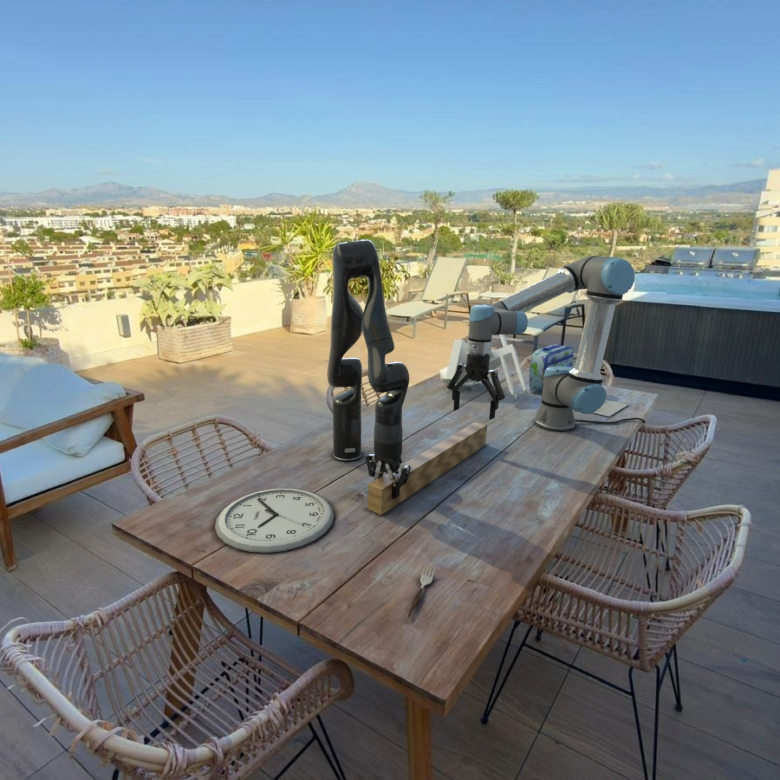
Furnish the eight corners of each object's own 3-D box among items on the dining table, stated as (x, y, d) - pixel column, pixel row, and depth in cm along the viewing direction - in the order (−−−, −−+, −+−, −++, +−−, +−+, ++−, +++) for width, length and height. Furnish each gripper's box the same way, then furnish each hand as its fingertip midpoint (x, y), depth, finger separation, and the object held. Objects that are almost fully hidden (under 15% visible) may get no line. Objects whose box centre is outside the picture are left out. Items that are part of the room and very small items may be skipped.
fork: (401, 617, 102) (401, 609, 101) (424, 570, 116) (425, 562, 116) (414, 621, 101) (414, 612, 100) (436, 572, 115) (436, 565, 115)
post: (473, 441, 187) (475, 421, 185) (485, 444, 184) (487, 424, 182) (367, 509, 141) (367, 484, 139) (381, 515, 138) (381, 489, 136)
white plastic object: (461, 429, 252) (437, 405, 227) (444, 352, 274) (420, 323, 250) (535, 404, 240) (518, 377, 215) (510, 326, 262) (492, 293, 237)
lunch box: (545, 397, 238) (550, 352, 231) (524, 391, 245) (529, 348, 239) (572, 386, 255) (578, 344, 249) (552, 381, 262) (557, 340, 256)
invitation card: (608, 416, 214) (573, 407, 224) (608, 416, 214) (573, 408, 224) (628, 404, 229) (594, 396, 238) (628, 405, 229) (594, 397, 238)
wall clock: (332, 544, 122) (200, 548, 120) (332, 550, 123) (201, 555, 120) (334, 484, 151) (228, 486, 148) (334, 489, 151) (228, 491, 149)
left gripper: (358, 434, 139) (358, 492, 144) (401, 448, 131) (400, 508, 136) (375, 426, 145) (375, 482, 150) (418, 439, 137) (416, 497, 142)
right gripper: (440, 348, 175) (436, 408, 182) (509, 361, 161) (502, 425, 168) (451, 345, 181) (447, 403, 188) (519, 357, 167) (512, 419, 173)
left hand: (387, 494), depth 143 cm, fingers closed on post, 4 cm apart
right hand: (473, 414), depth 178 cm, fingers open, 13 cm apart
